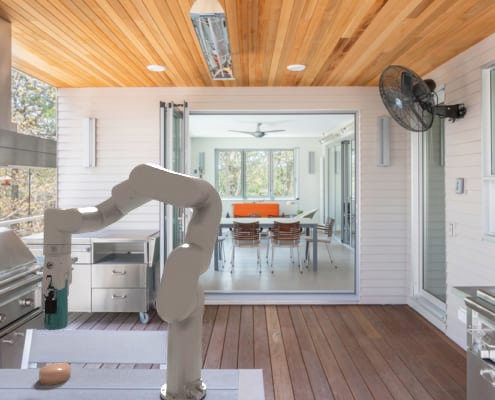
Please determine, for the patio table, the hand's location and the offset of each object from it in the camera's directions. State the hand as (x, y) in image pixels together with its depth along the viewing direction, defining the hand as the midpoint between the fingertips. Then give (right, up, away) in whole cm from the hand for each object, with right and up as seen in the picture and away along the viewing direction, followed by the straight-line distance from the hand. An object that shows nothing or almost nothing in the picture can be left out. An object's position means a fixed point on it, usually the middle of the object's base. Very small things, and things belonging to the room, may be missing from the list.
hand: (56, 309), depth 119 cm
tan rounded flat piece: (0, -20, 0) cm, 20 cm away
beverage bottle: (0, -7, 0) cm, 7 cm away
